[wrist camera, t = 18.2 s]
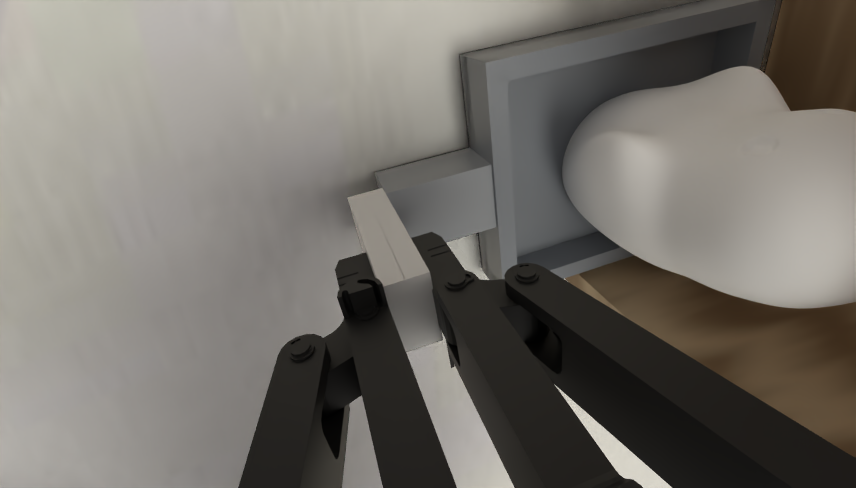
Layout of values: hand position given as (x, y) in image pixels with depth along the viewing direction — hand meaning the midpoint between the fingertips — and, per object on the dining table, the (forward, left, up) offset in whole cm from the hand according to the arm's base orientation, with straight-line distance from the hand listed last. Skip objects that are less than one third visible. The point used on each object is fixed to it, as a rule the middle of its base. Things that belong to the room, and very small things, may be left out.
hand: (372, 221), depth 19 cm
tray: (+9, 0, -2) cm, 10 cm away
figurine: (+12, 0, -1) cm, 12 cm away
